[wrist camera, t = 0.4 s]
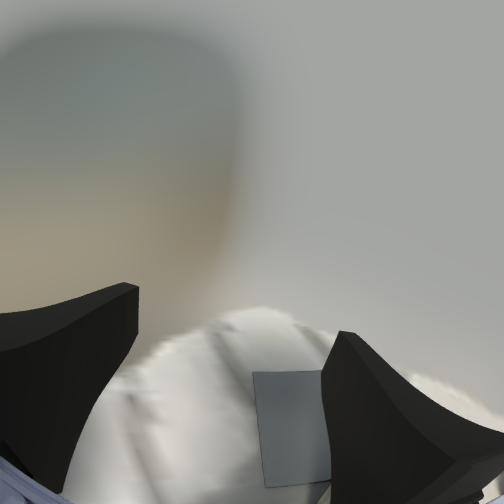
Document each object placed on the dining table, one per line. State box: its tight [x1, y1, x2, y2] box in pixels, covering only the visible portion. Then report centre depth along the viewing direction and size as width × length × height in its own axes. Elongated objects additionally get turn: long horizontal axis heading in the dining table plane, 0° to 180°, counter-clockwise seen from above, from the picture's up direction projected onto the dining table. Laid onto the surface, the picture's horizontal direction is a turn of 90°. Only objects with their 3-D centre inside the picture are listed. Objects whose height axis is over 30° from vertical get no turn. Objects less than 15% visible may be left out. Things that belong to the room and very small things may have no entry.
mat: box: [253, 371, 331, 488], centre depth 25 cm, size 14×13×1 cm
